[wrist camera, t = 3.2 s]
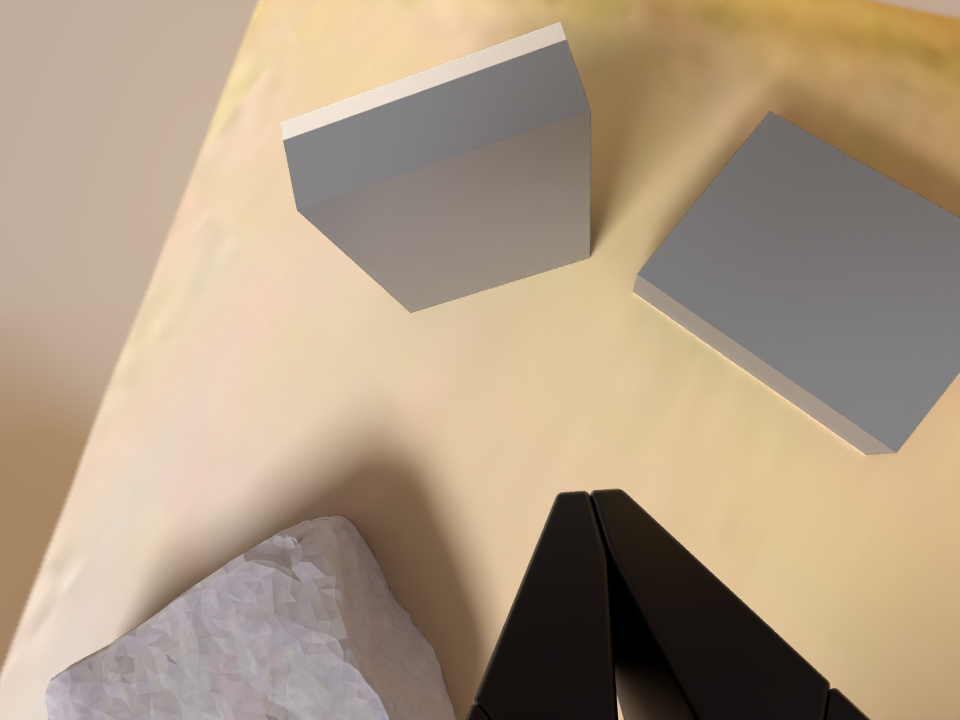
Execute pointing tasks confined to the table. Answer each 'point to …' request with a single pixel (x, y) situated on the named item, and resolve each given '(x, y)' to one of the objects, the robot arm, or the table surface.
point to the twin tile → (819, 284)
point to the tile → (454, 171)
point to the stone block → (268, 644)
